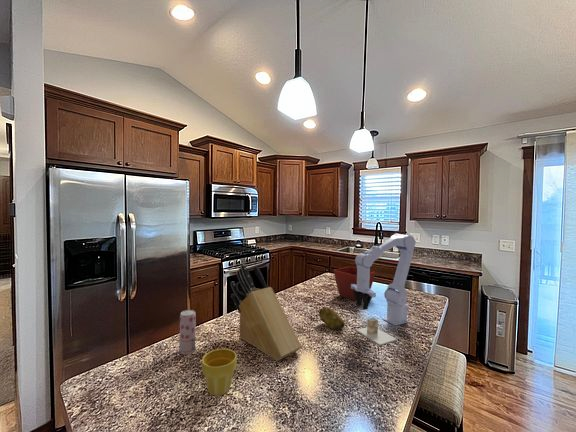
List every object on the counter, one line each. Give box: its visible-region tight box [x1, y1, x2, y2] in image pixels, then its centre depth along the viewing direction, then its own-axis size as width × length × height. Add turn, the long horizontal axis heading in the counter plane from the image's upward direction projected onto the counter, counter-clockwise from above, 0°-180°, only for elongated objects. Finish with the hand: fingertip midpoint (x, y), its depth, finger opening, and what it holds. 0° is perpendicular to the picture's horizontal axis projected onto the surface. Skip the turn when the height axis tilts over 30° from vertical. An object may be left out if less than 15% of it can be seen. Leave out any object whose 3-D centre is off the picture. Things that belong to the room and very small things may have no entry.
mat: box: [356, 326, 398, 346], centre depth 116 cm, size 10×14×1 cm
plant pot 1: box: [201, 348, 238, 397], centre depth 80 cm, size 10×10×10 cm
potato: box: [318, 306, 345, 330], centre depth 124 cm, size 8×13×8 cm, turn 27°
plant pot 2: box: [333, 266, 376, 302], centre depth 166 cm, size 19×19×17 cm
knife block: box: [230, 264, 302, 362], centre depth 108 cm, size 11×35×31 cm, turn 45°
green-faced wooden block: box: [366, 317, 379, 334], centre depth 117 cm, size 4×2×6 cm, turn 117°
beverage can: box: [179, 309, 197, 356], centre depth 100 cm, size 6×6×15 cm
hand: (362, 307), depth 123 cm, fingers open, 3 cm apart
